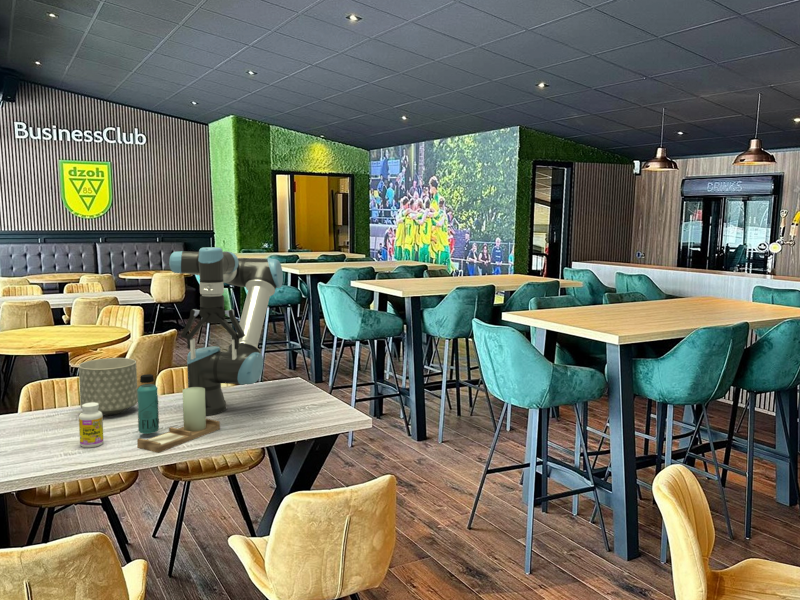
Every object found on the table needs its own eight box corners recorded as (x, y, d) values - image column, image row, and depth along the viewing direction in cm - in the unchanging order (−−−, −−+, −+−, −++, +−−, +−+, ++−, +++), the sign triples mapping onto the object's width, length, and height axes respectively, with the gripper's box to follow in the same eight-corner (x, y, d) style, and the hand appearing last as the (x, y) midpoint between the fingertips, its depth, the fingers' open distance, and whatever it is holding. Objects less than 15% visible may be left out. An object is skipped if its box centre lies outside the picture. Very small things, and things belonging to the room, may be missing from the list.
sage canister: (179, 429, 213) (177, 390, 212) (195, 423, 220) (193, 386, 218) (194, 432, 210) (193, 393, 209) (210, 426, 216) (209, 388, 215)
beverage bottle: (139, 439, 208) (137, 378, 205) (137, 433, 214) (134, 373, 211) (161, 436, 211) (158, 376, 208) (158, 430, 217) (156, 371, 214)
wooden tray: (137, 447, 200) (137, 439, 200) (200, 425, 223) (199, 417, 223) (158, 452, 196) (157, 444, 196) (219, 429, 219) (219, 421, 219)
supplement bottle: (79, 449, 198) (77, 408, 197) (80, 442, 204) (78, 402, 203) (103, 446, 201) (101, 406, 200) (103, 440, 207) (102, 400, 206)
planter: (139, 403, 249) (137, 356, 247) (136, 417, 231) (134, 367, 229) (84, 407, 243) (82, 359, 241) (77, 422, 225) (74, 370, 223)
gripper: (169, 296, 209) (172, 360, 211) (247, 296, 209) (249, 361, 211) (177, 293, 216) (179, 356, 219) (252, 293, 216) (254, 356, 219)
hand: (213, 358), depth 215 cm, fingers open, 13 cm apart
